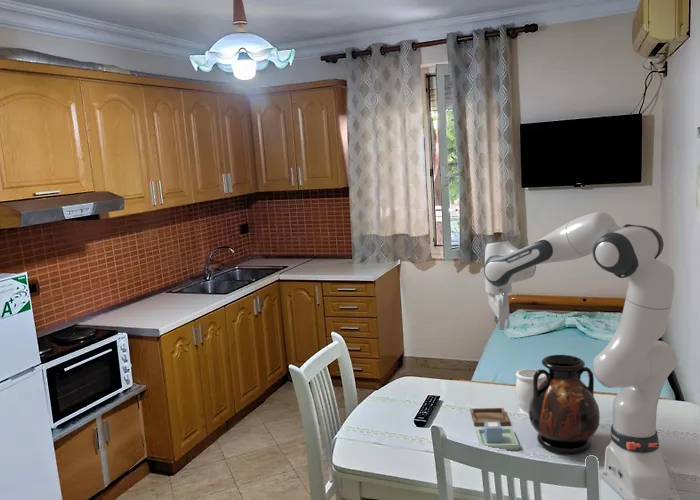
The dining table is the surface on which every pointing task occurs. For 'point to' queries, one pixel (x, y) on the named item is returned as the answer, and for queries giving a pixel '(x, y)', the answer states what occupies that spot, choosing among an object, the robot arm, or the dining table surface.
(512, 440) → the sage tray
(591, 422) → the amphora vase
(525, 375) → the jar
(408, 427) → the dining table surface
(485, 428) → the letter cube
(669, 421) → the dining table surface
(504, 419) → the walnut tray
